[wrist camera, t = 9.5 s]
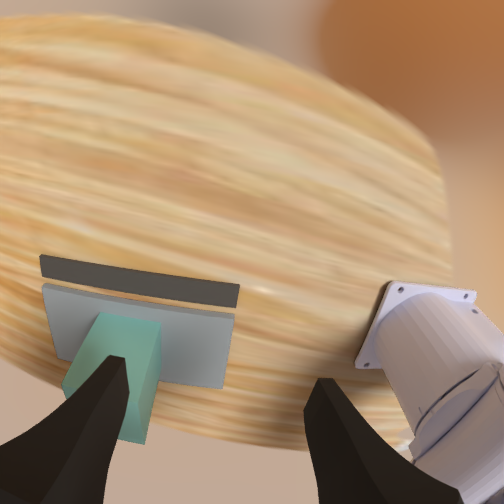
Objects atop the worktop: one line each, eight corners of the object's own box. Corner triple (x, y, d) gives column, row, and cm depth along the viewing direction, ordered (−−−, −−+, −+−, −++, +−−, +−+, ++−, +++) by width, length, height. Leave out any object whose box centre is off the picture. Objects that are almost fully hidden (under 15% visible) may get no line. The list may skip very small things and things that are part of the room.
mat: (234, 314, 21) (234, 319, 20) (222, 383, 23) (222, 389, 23) (45, 282, 19) (41, 286, 19) (60, 353, 22) (57, 358, 21)
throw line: (239, 284, 20) (239, 286, 20) (235, 305, 20) (235, 307, 20) (41, 254, 18) (39, 256, 18) (44, 274, 19) (42, 276, 19)
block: (160, 322, 20) (137, 403, 14) (161, 368, 22) (144, 444, 15) (100, 312, 20) (61, 384, 13) (106, 357, 21) (78, 428, 15)
